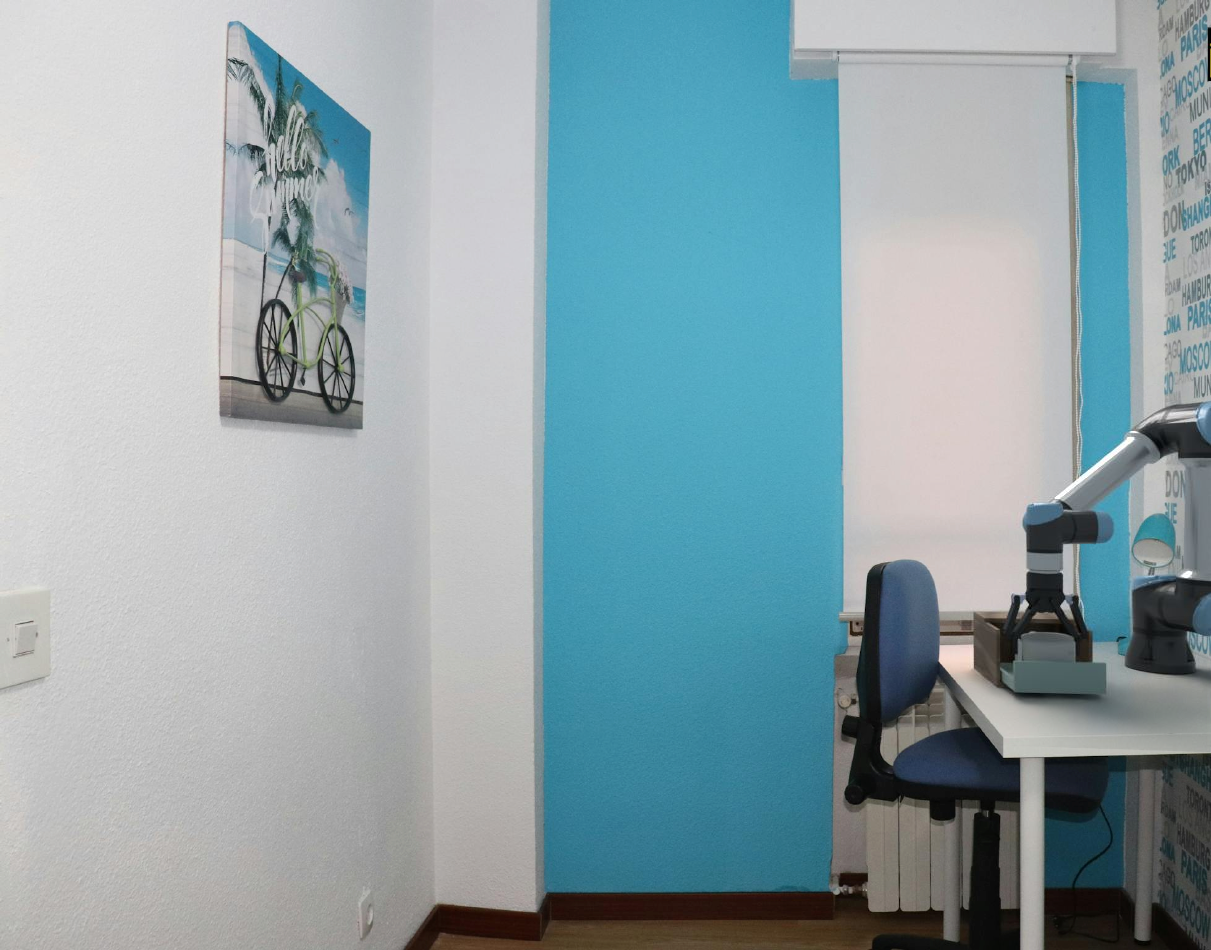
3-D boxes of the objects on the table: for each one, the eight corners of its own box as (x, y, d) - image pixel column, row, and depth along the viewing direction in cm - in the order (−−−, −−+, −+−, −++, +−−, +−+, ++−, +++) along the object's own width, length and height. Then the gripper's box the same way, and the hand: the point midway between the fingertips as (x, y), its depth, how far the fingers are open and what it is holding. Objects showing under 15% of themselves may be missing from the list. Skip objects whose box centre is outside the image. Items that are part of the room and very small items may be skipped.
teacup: (1080, 678, 201) (1080, 641, 201) (1026, 675, 204) (1027, 639, 203) (1061, 664, 215) (1062, 630, 215) (1012, 662, 217) (1012, 628, 217)
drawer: (1072, 673, 218) (1072, 645, 218) (1106, 694, 198) (1106, 663, 198) (989, 672, 220) (989, 644, 220) (1014, 692, 201) (1014, 661, 201)
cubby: (1061, 669, 228) (1061, 612, 228) (1092, 689, 208) (1092, 626, 208) (973, 667, 231) (973, 611, 231) (996, 686, 211) (996, 625, 211)
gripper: (1092, 569, 211) (1092, 666, 211) (986, 569, 214) (986, 664, 215) (1105, 573, 204) (1106, 673, 204) (995, 572, 207) (996, 671, 207)
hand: (1044, 669), depth 209 cm, fingers closed on teacup, 11 cm apart
